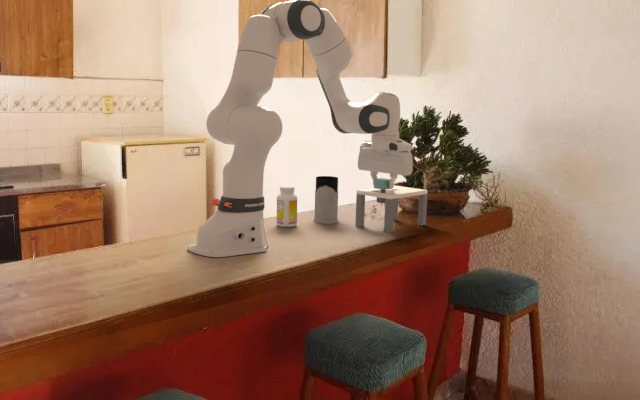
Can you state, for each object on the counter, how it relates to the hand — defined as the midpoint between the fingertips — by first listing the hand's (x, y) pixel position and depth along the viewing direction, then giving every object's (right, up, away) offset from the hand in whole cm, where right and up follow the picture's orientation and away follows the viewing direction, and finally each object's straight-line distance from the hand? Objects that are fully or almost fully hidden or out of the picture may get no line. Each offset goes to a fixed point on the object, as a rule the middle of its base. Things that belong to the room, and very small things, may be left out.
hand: (383, 186), depth 215 cm
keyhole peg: (0, -5, +1) cm, 5 cm away
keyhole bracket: (+3, -13, +6) cm, 14 cm away
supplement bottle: (-31, -13, +2) cm, 34 cm away
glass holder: (-18, -11, +14) cm, 25 cm away
